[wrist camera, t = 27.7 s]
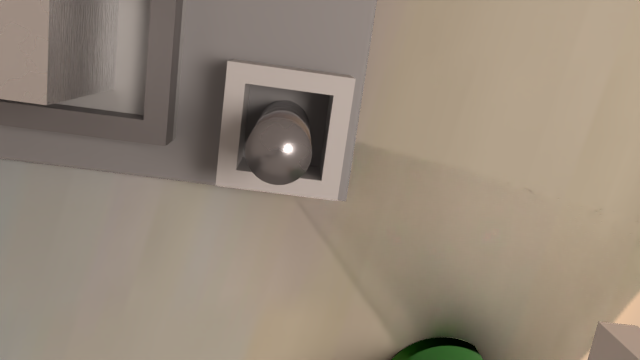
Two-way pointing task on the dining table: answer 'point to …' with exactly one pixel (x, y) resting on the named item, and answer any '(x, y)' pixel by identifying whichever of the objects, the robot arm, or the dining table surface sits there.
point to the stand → (210, 93)
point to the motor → (439, 350)
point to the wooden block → (57, 49)
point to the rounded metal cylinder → (280, 144)
